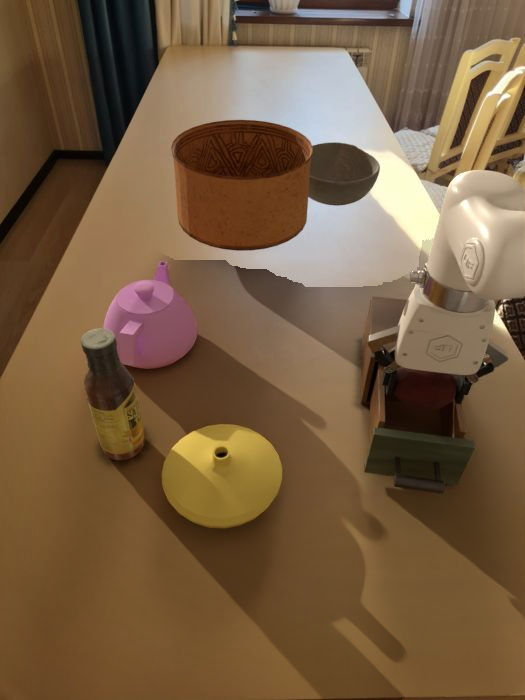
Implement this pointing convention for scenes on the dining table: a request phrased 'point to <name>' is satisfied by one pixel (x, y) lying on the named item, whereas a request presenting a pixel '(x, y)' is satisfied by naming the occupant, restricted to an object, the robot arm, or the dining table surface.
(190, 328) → the teapot
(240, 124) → the pot
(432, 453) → the drawer
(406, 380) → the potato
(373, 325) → the cabinet
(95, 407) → the sauce bottle
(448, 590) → the dining table surface
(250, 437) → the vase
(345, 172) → the bowl
